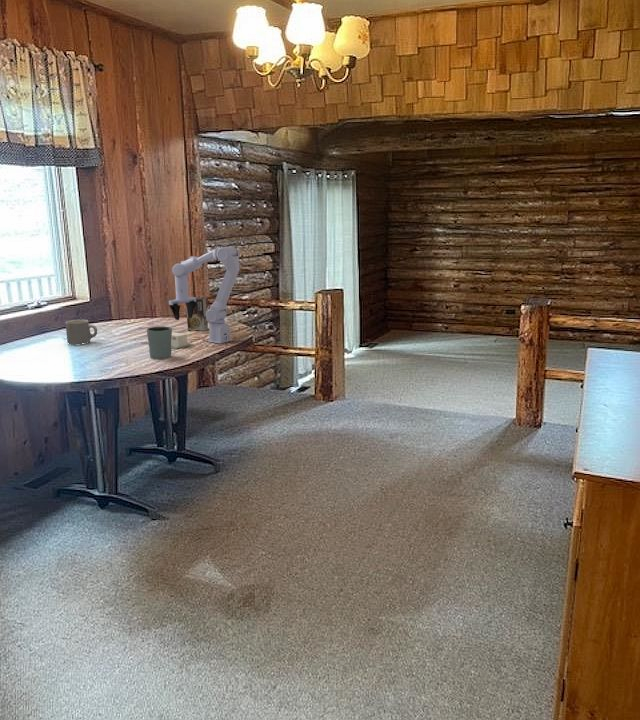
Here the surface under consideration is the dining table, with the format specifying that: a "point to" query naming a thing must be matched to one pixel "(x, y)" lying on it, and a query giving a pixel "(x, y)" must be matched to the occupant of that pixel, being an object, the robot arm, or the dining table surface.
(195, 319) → the coffee box
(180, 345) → the cream rectangular block
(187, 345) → the mat
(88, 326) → the coffee mug
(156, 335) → the green tapered cup
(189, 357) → the dining table surface
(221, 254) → the robot arm
